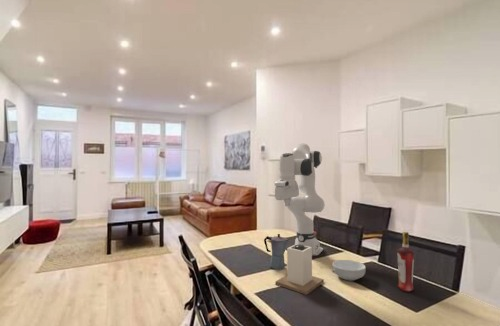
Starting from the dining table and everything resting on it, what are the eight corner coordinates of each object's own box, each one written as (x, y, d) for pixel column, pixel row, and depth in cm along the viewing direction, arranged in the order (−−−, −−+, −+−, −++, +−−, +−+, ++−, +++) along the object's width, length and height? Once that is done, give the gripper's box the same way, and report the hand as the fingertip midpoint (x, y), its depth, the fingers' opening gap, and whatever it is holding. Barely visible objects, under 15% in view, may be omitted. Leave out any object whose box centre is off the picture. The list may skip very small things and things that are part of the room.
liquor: (394, 286, 144) (394, 230, 144) (409, 286, 144) (409, 230, 143) (401, 293, 136) (401, 234, 136) (417, 293, 136) (417, 234, 136)
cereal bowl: (364, 273, 160) (364, 261, 160) (366, 286, 144) (366, 272, 144) (333, 270, 166) (333, 258, 166) (331, 281, 150) (331, 268, 150)
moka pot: (289, 271, 165) (288, 236, 164) (262, 269, 168) (262, 235, 168) (290, 265, 174) (290, 232, 174) (265, 263, 177) (264, 231, 177)
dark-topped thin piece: (297, 274, 153) (297, 243, 153) (308, 277, 149) (308, 245, 148) (291, 278, 148) (290, 246, 148) (302, 281, 144) (301, 248, 144)
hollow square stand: (293, 273, 161) (293, 240, 161) (323, 282, 149) (323, 246, 149) (275, 284, 147) (275, 248, 147) (306, 294, 136) (306, 255, 135)
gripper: (292, 180, 173) (292, 202, 173) (272, 183, 157) (273, 208, 158) (301, 180, 169) (301, 203, 169) (282, 183, 153) (282, 209, 154)
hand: (287, 206), depth 163 cm, fingers closed
